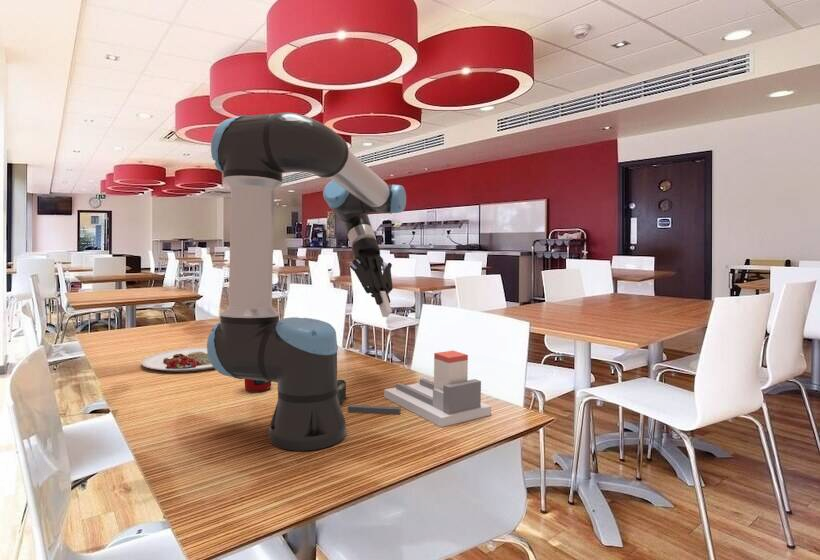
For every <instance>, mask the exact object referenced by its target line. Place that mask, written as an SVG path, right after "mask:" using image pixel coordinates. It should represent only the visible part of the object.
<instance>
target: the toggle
mask: <svg viewBox="0 0 820 560" xmlns="http://www.w3.org/2000/svg"><path fill="white" fill-rule="evenodd" d="M433 355H434V357H433V361H434V362H433V364H434V365H433V368H434V369H433V375H434V376H433V383H434V389H436V388H438V389H440V390H442V391H443V385H447V384H452V383H457V382H463V381H468V373H469V372H468V369H469V367H468V363H469V357H468V356H469V355H468V354H466V353H462V352H459V351H456V350H448V351H447V350H446V351H441V352H440V351H439V352H434V354H433Z"/></svg>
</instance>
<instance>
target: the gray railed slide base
mask: <svg viewBox="0 0 820 560" xmlns="http://www.w3.org/2000/svg"><path fill="white" fill-rule="evenodd" d="M481 396H482V380H479V379H477V378H476V379H475V378H474V379H469V380H468V379H467V381H463V382H457V383H452V384H447V385H443V391H442V390H440V389H438V388H436V389H434V381H431V380H429V379H426V378H419V382H418V383H411V384H404V383H402V382H396V383H395V387H391V388H390V387H389V388H386V389H384V398H385V399H388V400H389V401H390V402H393V403H395V404H397V405H399V407H401V408H404V409H406V410H408V411H410V412H412V413H413V414H416V415H417V416H419V417H422V418H423V419H425V420H427V421H428V422H431V423H433V424H434V425H436V426H439V427H440V428H443V427H448V426H451V425H456V424H460V423H465V422H467V421H468V422H469V421H472V420H476V419H481V418H485V417H489V416H491V415H492V406H491V405H489V404H486V403H484V402H482V401H481V400H482V399H481V398H482V397H481Z"/></svg>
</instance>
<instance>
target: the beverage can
mask: <svg viewBox="0 0 820 560" xmlns="http://www.w3.org/2000/svg"><path fill="white" fill-rule="evenodd" d="M271 387H272V382H270V381H261V380H252V379H244V388H245V389H246V390H247V391H249V392H251V393H252V392H253V393H258V392H259V393H260V392H261V393H262V392H264V391H267V390H268V389H269V388H271Z"/></svg>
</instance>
